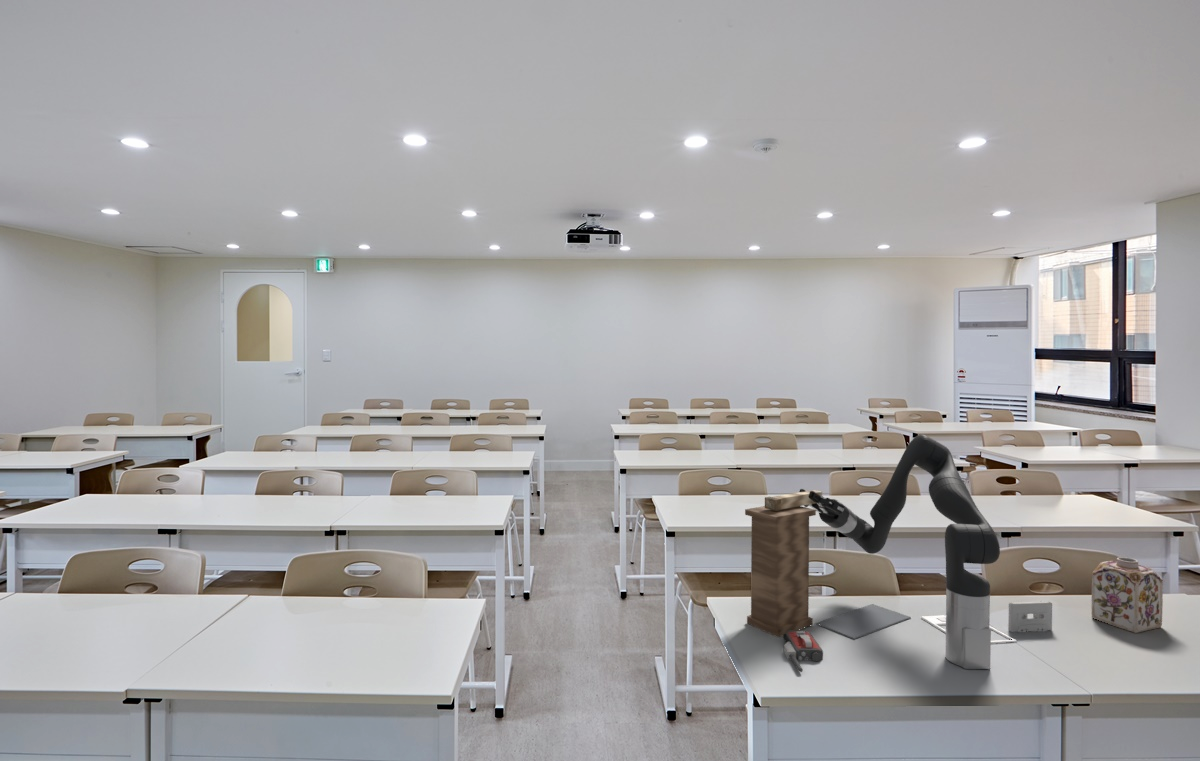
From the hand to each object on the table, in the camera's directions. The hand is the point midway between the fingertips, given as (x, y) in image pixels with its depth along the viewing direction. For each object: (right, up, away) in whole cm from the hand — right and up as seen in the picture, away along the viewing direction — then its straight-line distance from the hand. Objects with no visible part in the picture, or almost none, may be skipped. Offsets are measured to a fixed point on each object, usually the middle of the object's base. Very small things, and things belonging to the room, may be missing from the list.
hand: (805, 493), depth 184 cm
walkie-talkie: (-8, -37, -24) cm, 45 cm away
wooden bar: (-4, -3, -2) cm, 5 cm away
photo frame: (+41, -36, -9) cm, 56 cm away
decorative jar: (+88, -36, -4) cm, 95 cm away
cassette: (+58, -36, -9) cm, 69 cm away
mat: (+15, -36, -3) cm, 39 cm away
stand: (-9, -36, -5) cm, 37 cm away
